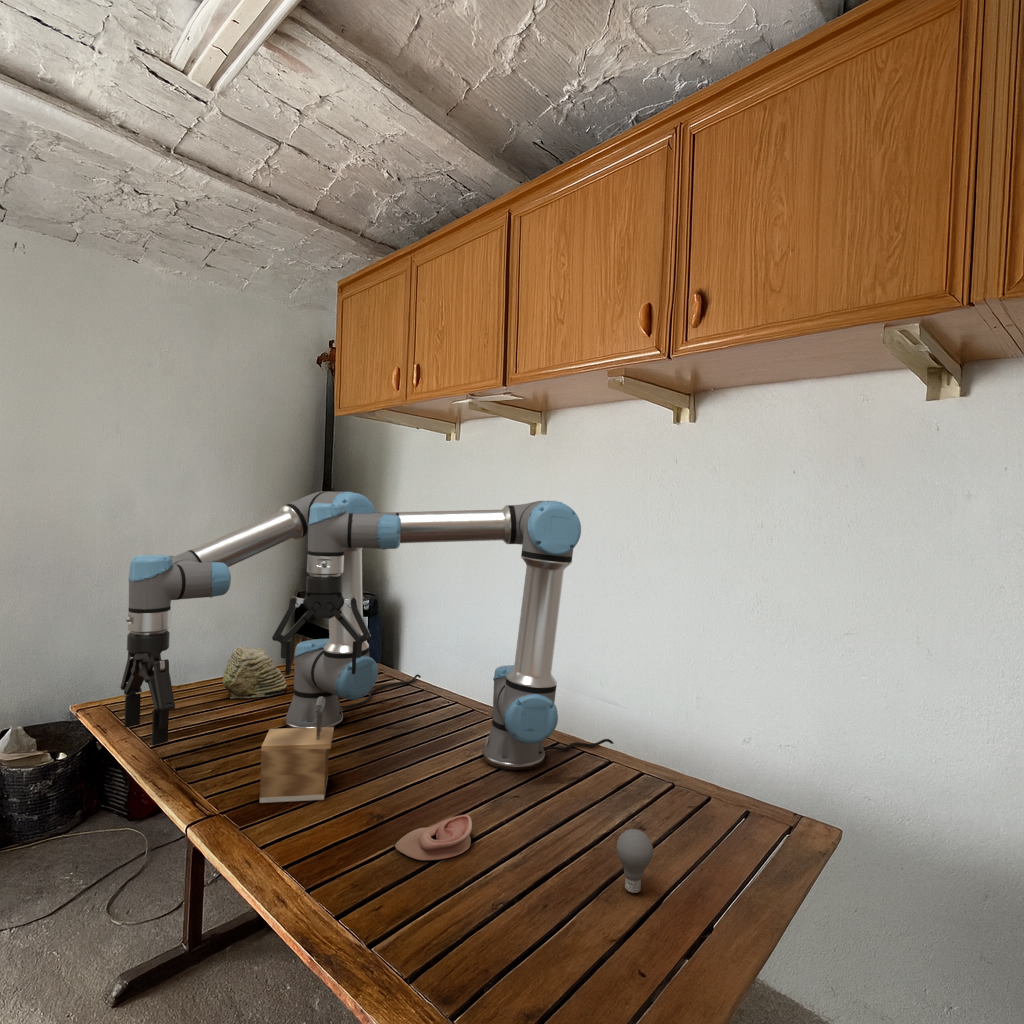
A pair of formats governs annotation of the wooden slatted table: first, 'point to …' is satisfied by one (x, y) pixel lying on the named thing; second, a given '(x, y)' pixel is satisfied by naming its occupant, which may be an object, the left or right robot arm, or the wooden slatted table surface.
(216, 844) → the wooden slatted table surface
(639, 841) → the light bulb
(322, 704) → the lid
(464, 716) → the wooden slatted table surface
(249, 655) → the fossil
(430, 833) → the anatomical model
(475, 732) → the wooden slatted table surface
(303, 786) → the chest
